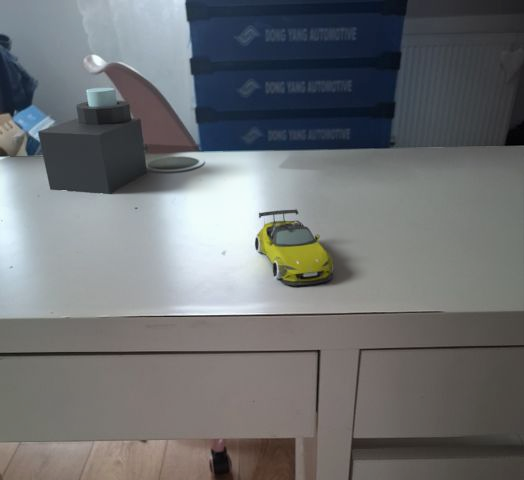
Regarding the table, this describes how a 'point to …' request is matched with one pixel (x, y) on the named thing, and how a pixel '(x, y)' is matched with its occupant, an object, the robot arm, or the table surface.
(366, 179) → the table surface
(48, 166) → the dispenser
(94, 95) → the pale turquoise short cylinder
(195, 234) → the table surface
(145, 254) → the table surface
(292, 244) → the sports car
